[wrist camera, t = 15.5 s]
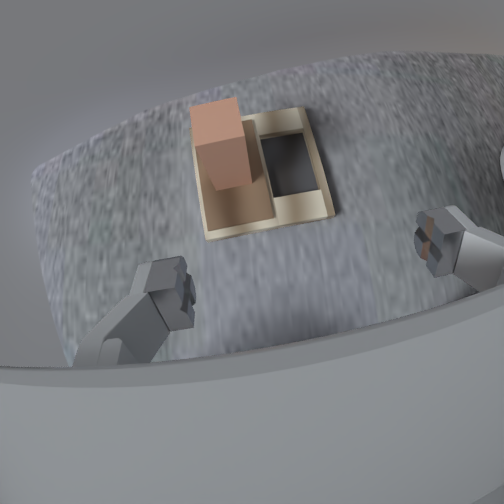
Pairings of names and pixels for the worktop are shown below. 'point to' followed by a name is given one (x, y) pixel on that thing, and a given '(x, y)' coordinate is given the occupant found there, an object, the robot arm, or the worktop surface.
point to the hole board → (268, 180)
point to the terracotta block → (221, 143)
